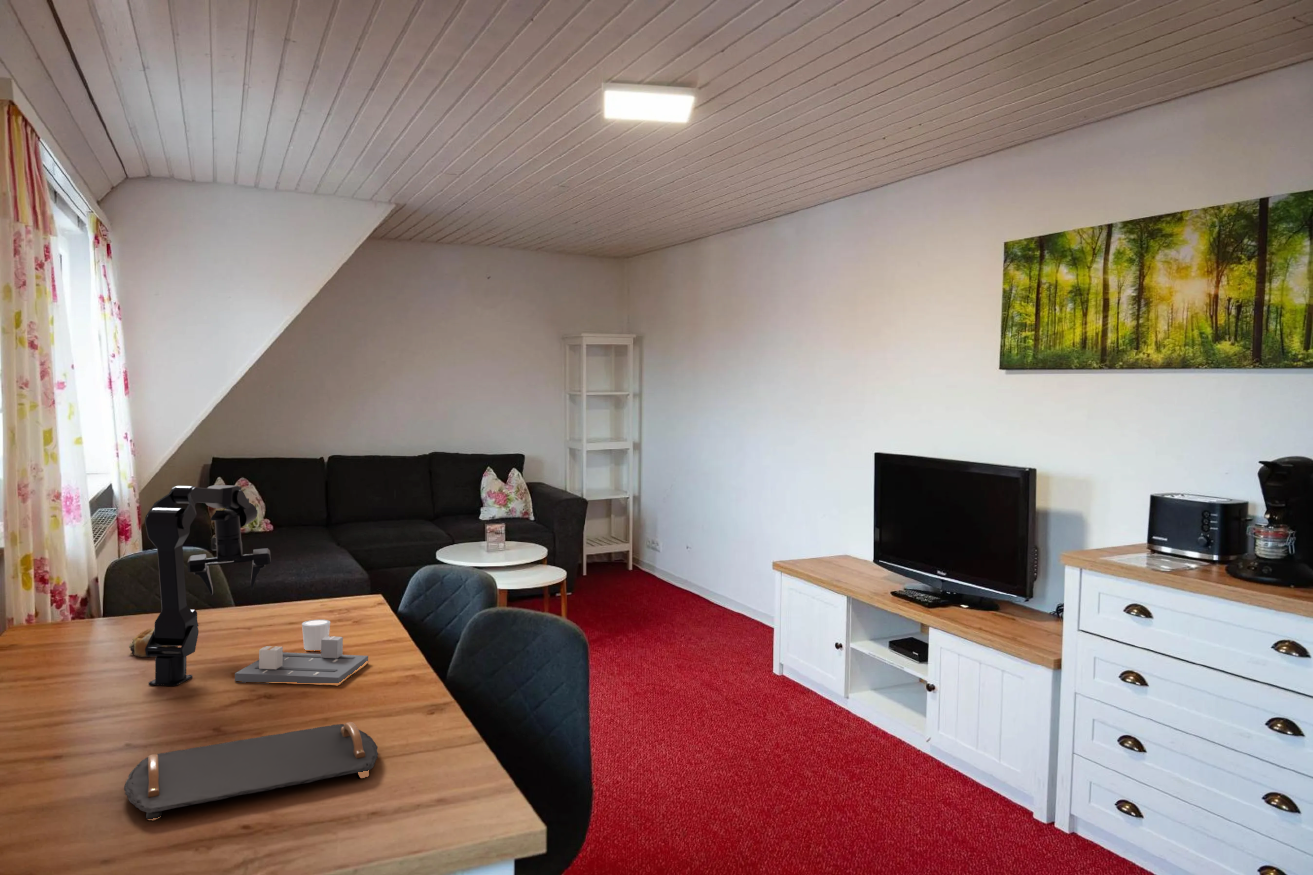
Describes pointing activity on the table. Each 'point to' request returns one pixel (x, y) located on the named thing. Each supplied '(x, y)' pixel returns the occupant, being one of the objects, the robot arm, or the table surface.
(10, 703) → the table surface
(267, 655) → the block
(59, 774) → the table surface
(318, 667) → the console
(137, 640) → the bread roll
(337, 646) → the fader
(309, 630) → the white cup
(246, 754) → the serving board
